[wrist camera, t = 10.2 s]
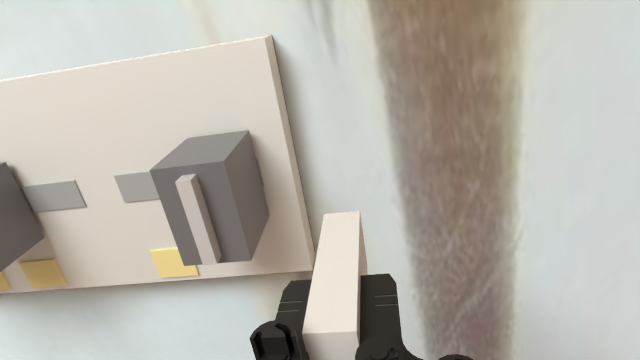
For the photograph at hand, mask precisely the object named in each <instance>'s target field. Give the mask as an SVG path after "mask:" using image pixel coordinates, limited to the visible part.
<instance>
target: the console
mask: <svg viewBox="0 0 640 360" xmlns="http://www.w3.org/2000/svg"><path fill="white" fill-rule="evenodd" d="M245 130H249V132H250V136H251V140H252V144H253V149H254V153H255V157H256V161H257V165H258V169H259V173H260V177H261V182H262V186H263V190H264V194H265V198H266V202H267V206H268V211H269V215H270V216H269V219H268V221H267V223H266V226H265V228H264V231H263V233H262V236H261V238H260V241H259V243H258V246H257V248H256V251H255V253H254V255H253V258H252V260H251V261H241V262H228V263H218V264H214V265H191V266H184V264H183V262H182V259H181V256H180V253H179V251H178V248H177V245H176V242H175V240H174V237H173V234H172V231H171V229H170V226H169V223H168V220H167V217H166V215H165V212H164V209H163V206H162V204H161V201H160V198H159V195H158V193H157V190H156V187H155V184H154V182H153V179H152V176H151V173H150V169H151V168H152V167H154V166H155V165H156V164H157V163H158V162H160V161H161V160H162V159H163V158H164V157H165V156H167V155H168V154H169V153H170V152H171V151H173V150H174V149H175V148H176V147H177V146H179V145H180V144H181V143H182V142H183V141H184V140H186V139H187V138H192V137H199V136H207V135H214V134H222V133H230V132H237V131H245ZM1 162H6V163H7V165H8V167H9V169H10V171H11V173H12V175H13V177H14V179H15V181H16V182H17V184H18V186H19V188H20V190H21V192H22V194H23V196H24V198H25V200H26V202H27V204H28V206H29V208H30V210H31V212H32V214H33V216H34V217H35V219H36V221H37V223H38V225H39V227H40V229H41V231H42V233H43V235H44V237H45V238H43V239H42V240H41V241H40V242H38V243H37V244H36V245H34V246H33V247H32V248H31V249H29V250H28V251H27V252H25V253H24V254H23V255H22V256H20V257H19V258H18V259H16V260H15V261H14V262H13V263H11V264H10V265H9V266H7V267H6V268H5V269H4V270H2V271H1V272H0V294H6V293H19V292H33V291H46V290H59V289H73V288H86V287H99V286H112V285H126V284H139V283H152V282H166V281H179V280H192V279H206V278H219V277H232V276H245V275H259V274H272V273H285V272H299V271H312V269H313V263H314V258H315V251H314V246H313V241H312V236H311V231H310V226H309V221H308V216H307V211H306V206H305V201H304V196H303V190H302V185H301V180H300V175H299V170H298V165H297V160H296V155H295V150H294V145H293V140H292V135H291V130H290V125H289V120H288V115H287V110H286V105H285V100H284V95H283V90H282V85H281V79H280V74H279V69H278V64H277V59H276V54H275V49H274V44H273V39H272V35H267V36H261V37H255V38H249V39H242V40H236V41H230V42H224V43H218V44H212V45H206V46H200V47H194V48H188V49H182V50H176V51H170V52H164V53H158V54H152V55H146V56H140V57H134V58H128V59H122V60H116V61H110V62H104V63H98V64H92V65H86V66H80V67H74V68H68V69H62V70H56V71H50V72H44V73H38V74H32V75H26V76H20V77H14V78H8V79H2V80H0V163H1Z"/></svg>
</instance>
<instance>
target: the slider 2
mask: <svg viewBox="0 0 640 360" xmlns="http://www.w3.org/2000/svg"><path fill="white" fill-rule="evenodd" d="M150 173H151V176H152V179H153V182H154V184H155V187H156V190H157V193H158V195H159V198H160V201H161V204H162V206H163V209H164V212H165V215H166V217H167V220H168V223H169V226H170V229H171V231H172V234H173V237H174V240H175V242H176V245H177V248H178V251H179V253H180V256H181V259H182V262H183V264H184V266H191V265H214V264H218V263H228V262H241V261H251V260H252V258H253V255H254V253H255V251H256V248H257V246H258V243H259V241H260V238H261V236H262V233H263V231H264V228H265V226H266V223H267V221H268V219H269V216H270V215H269V211H268V206H267V202H266V198H265V194H264V190H263V186H262V182H261V177H260V173H259V169H258V165H257V161H256V157H255V153H254V149H253V144H252V140H251V136H250V132H249V130H245V131H237V132H230V133H222V134H214V135H207V136H199V137H192V138H187V139H186V140H184V141H183V142H182V143H181V144H180V145H179V146H177V147H176V148H175V149H174V150H173V151H171V152H170V153H169V154H168V155H167V156H165V157H164V158H163V159H162V160H161V161H160V162H158V163H157V164H156V165H155V166H154V167H152V168H151V169H150Z"/></svg>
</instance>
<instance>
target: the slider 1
mask: <svg viewBox="0 0 640 360" xmlns="http://www.w3.org/2000/svg"><path fill="white" fill-rule="evenodd" d="M43 238H45V237H44V235H43V233H42V231H41V229H40V227H39V225H38V223H37V221H36V219H35V217H34V216H33V214H32V212H31V210H30V208H29V206H28V204H27V202H26V200H25V198H24V196H23V194H22V192H21V190H20V188H19V186H18V184H17V182H16V181H15V179H14V177H13V175H12V173H11V171H10V169H9V167H8V165H7V163H6V162H1V163H0V272H1V271H2V270H4V269H5V268H6V267H7V266H9V265H10V264H11V263H13V262H14V261H15V260H16V259H18V258H19V257H20V256H22V255H23V254H24V253H25V252H27V251H28V250H29V249H31V248H32V247H33V246H34V245H36V244H37V243H38V242H40V241H41V240H42V239H43Z"/></svg>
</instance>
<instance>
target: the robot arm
mask: <svg viewBox="0 0 640 360" xmlns="http://www.w3.org/2000/svg"><path fill="white" fill-rule="evenodd" d="M250 341H251V345H252V348H253V351H254V354H255V358H256V360H423V359H420V358H417V357H416V356H414V355H412V354H411V353H410V352H409V351H408V350H407V349H406V348H405V346H404V344H403V341H402V336H401V326H400V317H399V307H398V297H397V288H396V282H395V281H394V280H393V278H392V277H391V276H390V274H376V275H367V260H366V253H365V245H364V238H363V231H362V224H361V216H360V211H352V212H341V213H330V214H324V218H323V223H322V228H321V234H320V239H319V245H318V250H317V255H316V261H315V266H314V271H313V277H312V280H297V281H291V282H290V283H289V284H288V286H287V287H286V288H285V289H284V290H283V294H282V297H281V301H280V304H279V308H278V313H277V315H276V319H275V320H274V321H269V322H267V323H264V324H262V325H260V326H259V327H258V328H257V329H256V330H255V331H254V332H253V333H252V335H251V337H250ZM439 360H473V359H471V358H469V357H467V356H463V355H459V354H455V355H447V356H444V357H442V358H440V359H439Z"/></svg>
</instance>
